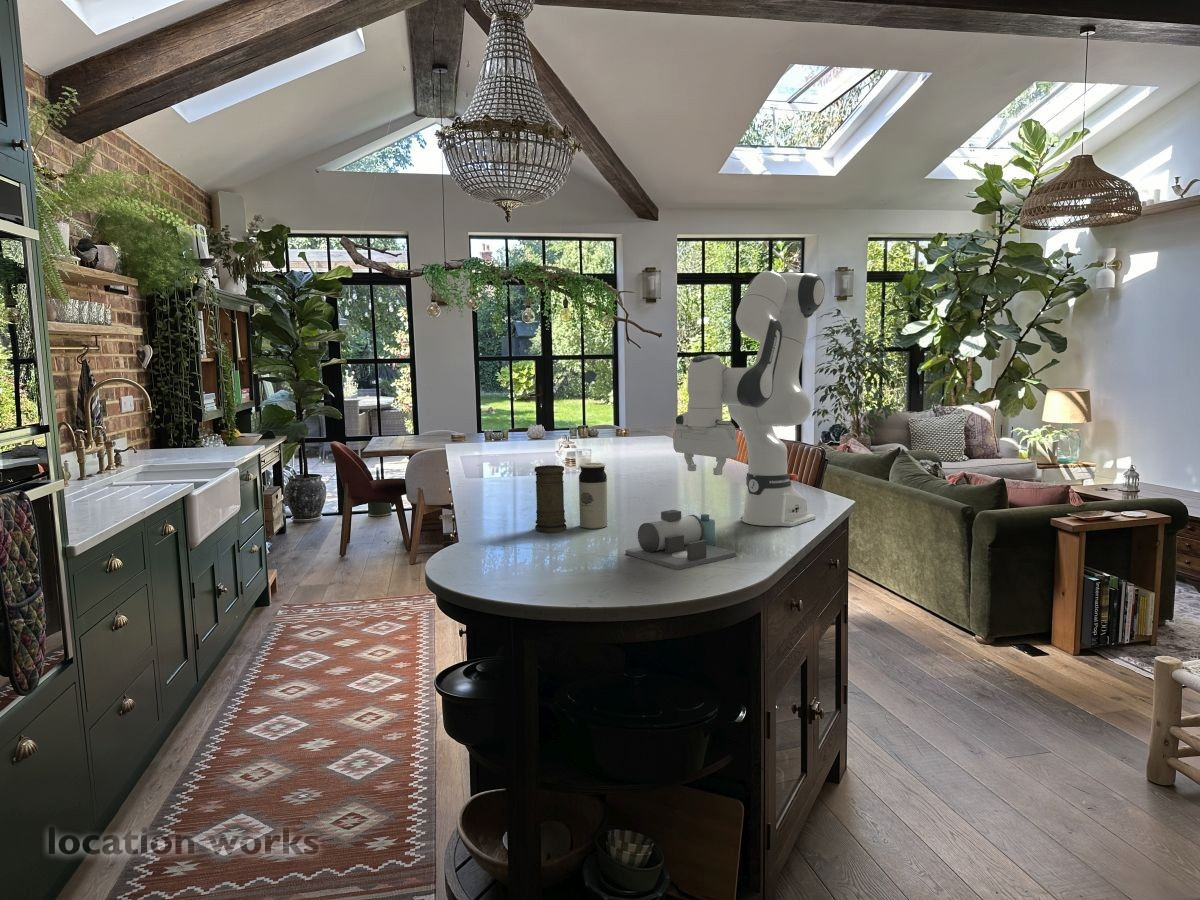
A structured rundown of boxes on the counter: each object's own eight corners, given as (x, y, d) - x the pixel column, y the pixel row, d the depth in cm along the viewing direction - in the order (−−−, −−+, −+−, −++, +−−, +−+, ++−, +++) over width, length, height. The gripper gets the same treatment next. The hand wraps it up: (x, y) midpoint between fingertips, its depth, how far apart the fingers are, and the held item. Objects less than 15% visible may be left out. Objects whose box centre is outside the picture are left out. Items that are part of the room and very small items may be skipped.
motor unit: (683, 542, 205) (683, 504, 204) (736, 556, 190) (736, 515, 189) (625, 553, 194) (625, 513, 193) (677, 569, 179) (677, 526, 177)
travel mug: (594, 522, 232) (592, 461, 230) (613, 525, 227) (612, 463, 225) (574, 526, 227) (572, 464, 225) (593, 530, 221) (592, 466, 219)
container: (562, 533, 218) (561, 469, 215) (531, 532, 219) (529, 468, 217) (570, 526, 226) (568, 464, 224) (540, 526, 228) (538, 464, 226)
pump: (705, 540, 207) (705, 512, 206) (718, 543, 203) (718, 515, 202) (691, 543, 204) (691, 514, 203) (704, 546, 200) (704, 517, 199)
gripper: (743, 420, 193) (743, 476, 195) (686, 416, 210) (686, 467, 211) (725, 421, 189) (725, 478, 191) (669, 417, 206) (669, 470, 207)
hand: (704, 473), depth 201 cm, fingers open, 8 cm apart
